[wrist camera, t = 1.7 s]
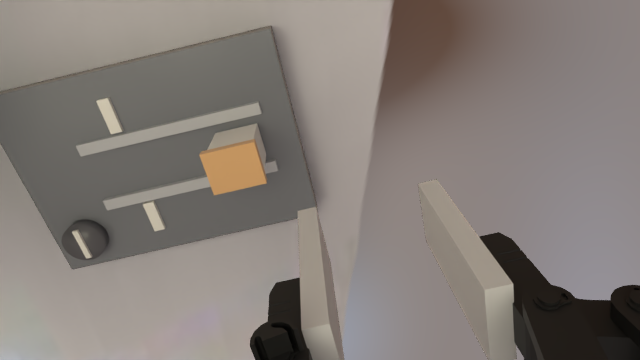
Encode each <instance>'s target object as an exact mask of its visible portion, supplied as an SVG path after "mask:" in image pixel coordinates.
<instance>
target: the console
mask: <svg viewBox="0 0 640 360" xmlns="http://www.w3.org/2000/svg"><path fill="white" fill-rule="evenodd" d="M256 123H257V125H258V128H259V131H260V135H261V138H262V141H263V145H264V148H265V152H266V161H265V168H264V171H265V174H266V177H267V183H266V184H262V185H257V186H253V187H249V188H244V189H240V190H236V191H231V192H227V193H223V194H218V195H214V194H213V191H212V188H211V186H210V183H209V180H208V177H207V175H206V172H205V169H204V167H203V164H202V161H201V158H200V156H199V154H200V153H201V151H205V150H207V149H208V147H209V145H210V143H211V141H212V139H213V137H214V135H215V133H218V132H222V131H226V130H230V129H235V128H239V127H243V126H247V125H252V124H256ZM0 143H1V145H2V147H3V149H4V150H5V152H6V154H7V156H8V157H9V159H10V161H11V163H12V164H13V166H14V168H15V170H16V171H17V173H18V175H19V177H20V178H21V180H22V182H23V184H24V186H25V187H26V189H27V191H28V193H29V194H30V196H31V198H32V200H33V201H34V203H35V205H36V207H37V208H38V210H39V212H40V214H41V215H42V217H43V219H44V221H45V223H46V224H47V226H48V228H49V230H50V231H51V233H52V235H53V237H54V238H55V240H56V242H57V244H58V245H59V247H60V249H61V251H62V252H63V254H64V256H65V258H66V260H67V261H68V263H69V265H70V267H71V268H72V269H77V268H81V267H85V266H90V265H94V264H99V263H103V262H107V261H112V260H116V259H121V258H125V257H129V256H134V255H138V254H143V253H147V252H151V251H156V250H160V249H165V248H169V247H173V246H178V245H182V244H187V243H191V242H195V241H200V240H204V239H209V238H213V237H217V236H222V235H226V234H231V233H235V232H239V231H244V230H248V229H253V228H257V227H261V226H266V225H270V224H275V223H279V222H283V221H288V220H292V219H297V218H298V211H300V210H304V209H308V208H313V207H316V208H317V202H316V198H315V194H314V190H313V186H312V182H311V178H310V174H309V171H308V167H307V163H306V159H305V155H304V151H303V147H302V143H301V139H300V136H299V132H298V128H297V124H296V120H295V116H294V112H293V108H292V104H291V101H290V97H289V93H288V89H287V85H286V81H285V77H284V73H283V70H282V66H281V62H280V58H279V54H278V50H277V46H276V42H275V38H274V35H273V31H272V27H271V26H268V27H264V28H259V29H255V30H251V31H247V32H243V33H239V34H235V35H231V36H227V37H223V38H218V39H214V40H210V41H206V42H202V43H198V44H194V45H190V46H186V47H182V48H177V49H173V50H169V51H165V52H161V53H157V54H153V55H149V56H145V57H141V58H136V59H132V60H128V61H124V62H120V63H116V64H112V65H108V66H104V67H100V68H95V69H91V70H87V71H83V72H79V73H75V74H71V75H67V76H63V77H59V78H55V79H50V80H46V81H42V82H38V83H34V84H30V85H26V86H22V87H18V88H14V89H9V90H5V91H1V92H0ZM317 212H318V210H317Z"/></svg>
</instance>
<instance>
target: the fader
mask: <svg viewBox="0 0 640 360" xmlns="http://www.w3.org/2000/svg"><path fill="white" fill-rule="evenodd" d="M199 156H200V158H201V161H202V164H203V167H204V169H205V172H206V175H207V177H208V180H209V183H210V186H211V188H212V191H213V194H214V195H218V194H223V193H227V192H231V191H236V190H240V189H244V188H249V187H253V186H257V185H262V184H266V183H267V177H266V174H265V171H264V168H265V161H266V152H265V148H264V145H263V141H262V138H261V135H260V131H259V128H258V125H257V123H256V124H252V125H247V126H243V127H239V128H235V129H230V130H226V131H222V132H218V133H215V135H214V137H213V139H212V141H211V143H210V145H209V147H208V149H207V150H205V151H201V153H200V154H199Z"/></svg>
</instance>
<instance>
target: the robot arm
mask: <svg viewBox="0 0 640 360" xmlns="http://www.w3.org/2000/svg"><path fill="white" fill-rule="evenodd" d="M418 188H419V196H420V203H421V210H422V217H423V224H424V230H425V238H426V242H427V244H428V245H429V247H430V249H431V251H432V253H433V255H434V257H435V259H436V261H437V263H438V265H439V267H440V269H441V270H442V272H443V274H444V276H445V278H446V280H447V282H448V284H449V286H450V288H451V289H452V292H453V294H454V295H455V297H456V299H457V301H458V303H459V305H460V307H461V309H462V311H463V313H464V315H465V317H466V318H467V320H468V322H469V324H470V326H471V328H472V330H473V332H474V334H475V335H476V338H477V340H478V342H479V343H480V345H481V347H482V349H483V351H484V353H485V355H486V357H487V359H488V360H514V359H517V355H516V345H517V347H518V348H519V350H520V352H521V353H522V355H523V357H524V360H640V286H638V285H628V286H622V287H620V288H617V289H615V290H614V292H613V293H612V294H611V300H609V301H608V300H583V299H577V298H575V297H574V296H573V295H572V294H571V293H570V292H568V291H567V290H565V289H563V288H561V287H557V286H553V285H551V284H550V283H549V282H548V281H547V280H546V278H545V277H544V276H543V275H542V274H541V273H540V271H539V270H538V269H537V268H536V267H535V266H534V264H533V263H532V262H531V261H530V260H529V259H528V258H527V257H526V255H525V254H524V253H523V252H522V251H521V250H520V248H519V247H518V246H517V245H516V243H515V242H514V241H513V240H512V239H511V238H509V237H507V236H505V235H503V234H501V233H499V232H498V233H494V234H489V235H485V236H480V237H479V236H478V235H477V234H476V232H475V231H474V230H473V228H472V227H471V226H470V224H469V223H468V221H467V220H466V219H465V217H464V216H463V215H462V213H461V212H460V211H459V209H458V208H457V207H456V205H455V204H454V202H453V201H452V200H451V198H450V197H449V195H448V194H447V193H446V191H445V190H444V189H443V187H442V186H441V185H440V183H439V182H438V181H437V179H436V180H431V181H427V182H423V183H418ZM298 238H299V270H300V278H296V279H292V280H287V281H283V282H278V283H276V284H275V286H274V287H273V289H272V291H271V292H270V295H269V310H268V315H269V316H268V322H266V323H264V324H263V325H261V326H260V327H259V328H258V329H257V330H256V331H255V332H254V333H253V335H252V337H251V340H250V347H251V350H252V352H253V355H254V357H255V360H344V354H343V347H342V340H341V333H340V326H339V319H338V312H337V305H336V298H335V291H334V284H333V277H332V270H331V263H330V258H329V255H328V251H327V247H326V243H325V239H324V235H323V231H322V228H321V224H320V220H319V216H318V212H317V208H316V207H313V208H308V209H304V210H300V211H298Z"/></svg>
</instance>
